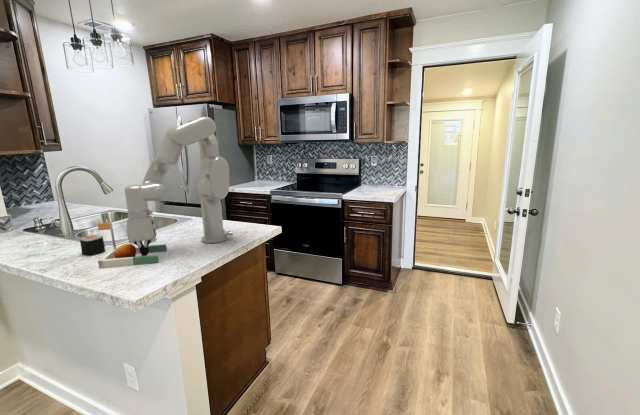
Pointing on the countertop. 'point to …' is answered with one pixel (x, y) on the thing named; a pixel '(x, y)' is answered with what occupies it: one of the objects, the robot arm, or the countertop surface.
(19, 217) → the countertop surface
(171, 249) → the countertop surface
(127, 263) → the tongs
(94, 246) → the sushi
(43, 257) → the countertop surface
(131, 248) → the fruit
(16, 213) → the countertop surface
